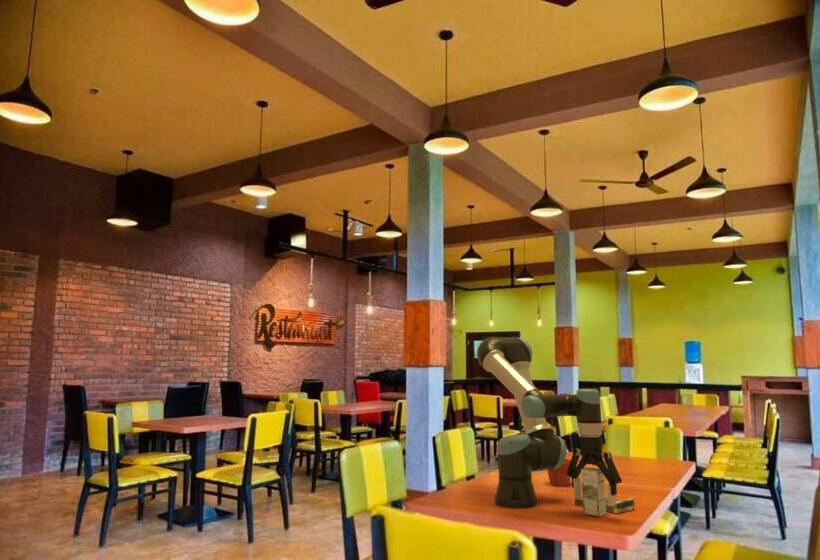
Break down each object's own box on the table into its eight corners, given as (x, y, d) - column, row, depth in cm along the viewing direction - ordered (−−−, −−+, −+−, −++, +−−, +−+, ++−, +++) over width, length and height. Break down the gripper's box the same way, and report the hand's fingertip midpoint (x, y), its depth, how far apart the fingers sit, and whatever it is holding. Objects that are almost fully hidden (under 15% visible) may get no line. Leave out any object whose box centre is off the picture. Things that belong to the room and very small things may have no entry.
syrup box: (607, 514, 193) (604, 468, 195) (599, 517, 188) (596, 470, 190) (590, 511, 196) (588, 466, 198) (582, 514, 192) (580, 469, 194)
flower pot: (570, 481, 247) (569, 458, 248) (575, 487, 236) (574, 462, 237) (545, 481, 248) (544, 458, 249) (548, 486, 237) (547, 462, 238)
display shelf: (617, 513, 192) (616, 502, 193) (575, 504, 206) (574, 494, 207) (635, 509, 198) (634, 498, 199) (592, 500, 212) (592, 490, 212)
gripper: (630, 437, 188) (634, 506, 185) (568, 432, 208) (571, 494, 205) (615, 439, 184) (620, 510, 181) (554, 433, 204) (557, 497, 201)
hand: (594, 501), depth 193 cm, fingers open, 13 cm apart
